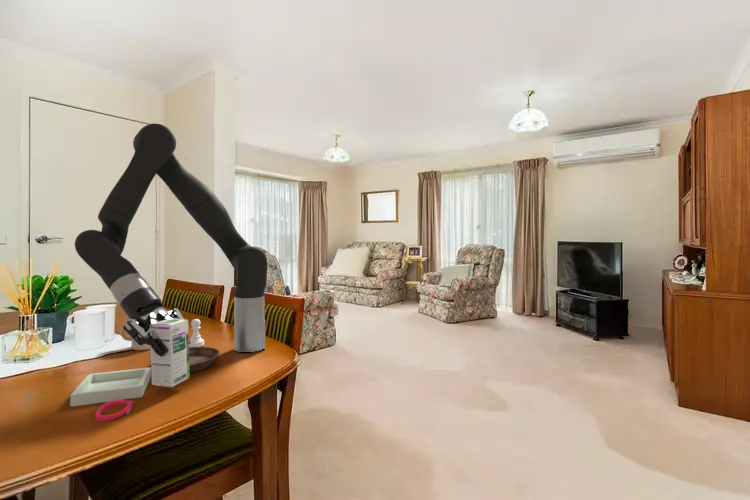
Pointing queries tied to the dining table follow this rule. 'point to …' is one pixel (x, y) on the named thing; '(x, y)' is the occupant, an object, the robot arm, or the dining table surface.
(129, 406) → the fitness band
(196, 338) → the chess pawn
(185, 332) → the syrup box
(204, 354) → the plant saucer
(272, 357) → the dining table surface
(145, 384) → the tray
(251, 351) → the robot arm
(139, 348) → the teacup with lid
